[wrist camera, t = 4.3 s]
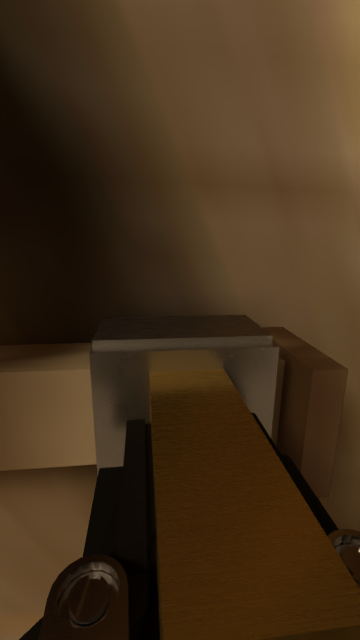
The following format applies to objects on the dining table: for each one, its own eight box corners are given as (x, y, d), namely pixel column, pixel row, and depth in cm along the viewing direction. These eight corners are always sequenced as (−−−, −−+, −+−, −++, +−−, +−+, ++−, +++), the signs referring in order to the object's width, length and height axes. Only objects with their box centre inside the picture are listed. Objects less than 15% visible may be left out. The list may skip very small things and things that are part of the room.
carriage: (245, 314, 14) (543, 541, 4) (236, 451, 15) (421, 868, 5) (102, 317, 13) (-38, 607, 3) (110, 459, 15) (41, 958, 5)
